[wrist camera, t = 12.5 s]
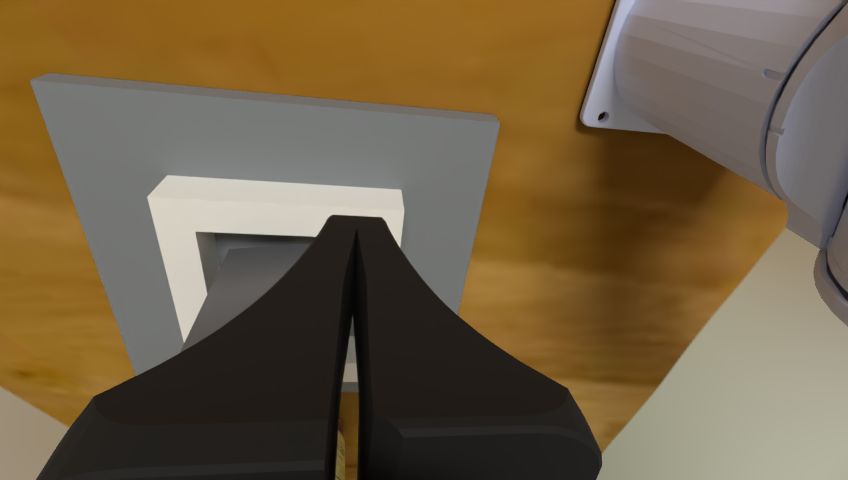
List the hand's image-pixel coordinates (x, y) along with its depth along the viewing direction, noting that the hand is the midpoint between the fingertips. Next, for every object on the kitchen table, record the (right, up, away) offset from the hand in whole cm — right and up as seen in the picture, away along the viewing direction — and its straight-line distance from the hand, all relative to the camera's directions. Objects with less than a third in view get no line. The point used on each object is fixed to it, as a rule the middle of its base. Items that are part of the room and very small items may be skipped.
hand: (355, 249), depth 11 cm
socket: (-5, -1, +12) cm, 13 cm away
